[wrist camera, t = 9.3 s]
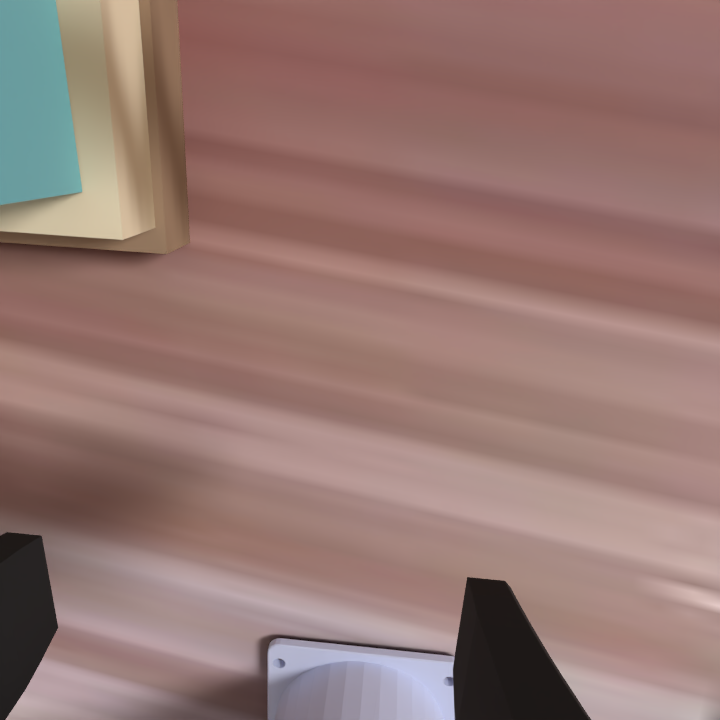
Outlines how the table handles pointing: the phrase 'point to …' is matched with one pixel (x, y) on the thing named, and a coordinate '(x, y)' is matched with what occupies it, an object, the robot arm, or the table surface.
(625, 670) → the table surface
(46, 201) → the maple top block
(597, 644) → the table surface
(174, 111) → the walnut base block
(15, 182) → the teal block
